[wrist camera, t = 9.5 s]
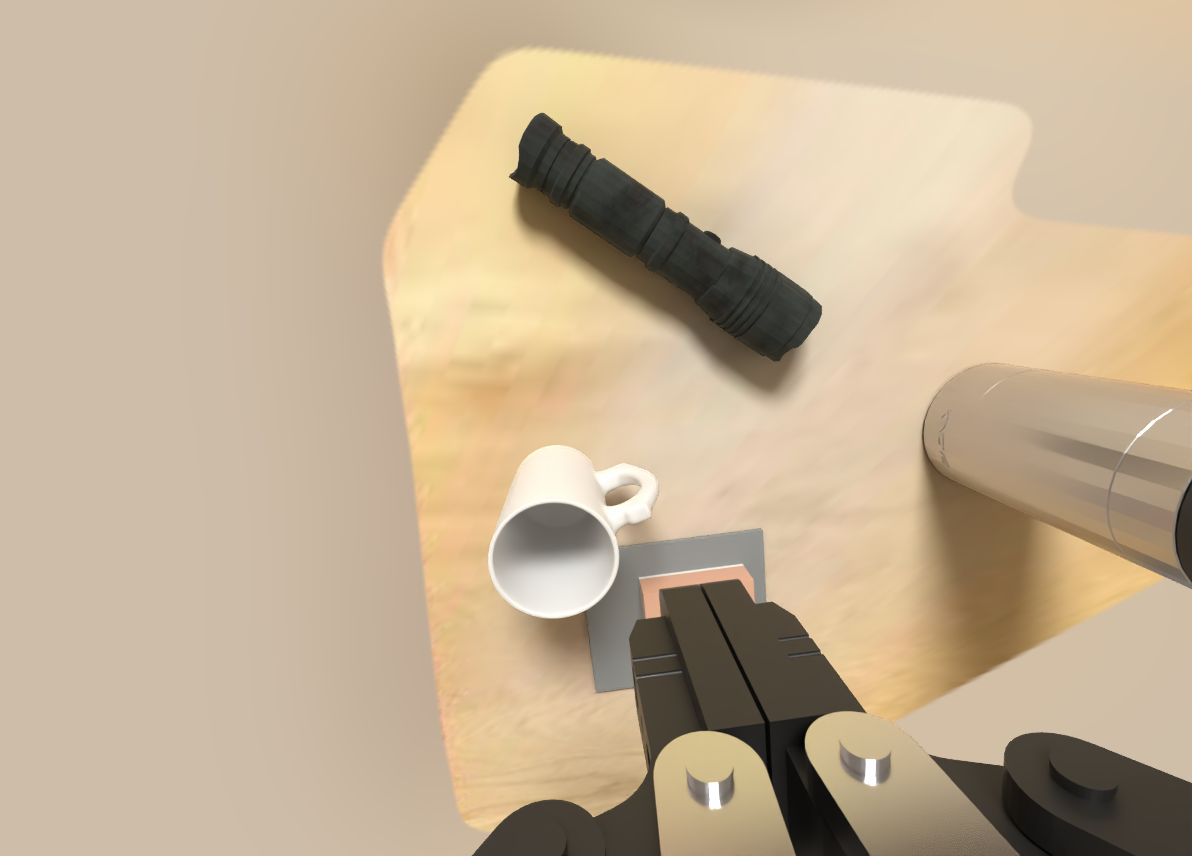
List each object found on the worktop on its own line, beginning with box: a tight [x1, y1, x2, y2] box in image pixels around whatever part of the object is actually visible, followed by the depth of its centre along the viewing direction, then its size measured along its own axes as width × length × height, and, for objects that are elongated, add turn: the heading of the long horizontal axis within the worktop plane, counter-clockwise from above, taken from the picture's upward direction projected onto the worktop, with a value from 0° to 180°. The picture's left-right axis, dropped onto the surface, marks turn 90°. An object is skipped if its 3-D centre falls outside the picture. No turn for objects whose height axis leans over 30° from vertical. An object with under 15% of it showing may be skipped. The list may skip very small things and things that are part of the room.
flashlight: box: [509, 113, 822, 361], centre depth 35 cm, size 5×21×5 cm, turn 57°
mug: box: [488, 445, 659, 619], centre depth 34 cm, size 10×7×12 cm, turn 113°
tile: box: [639, 564, 755, 619], centre depth 41 cm, size 2×7×8 cm
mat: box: [586, 529, 766, 693], centre depth 43 cm, size 14×12×1 cm
